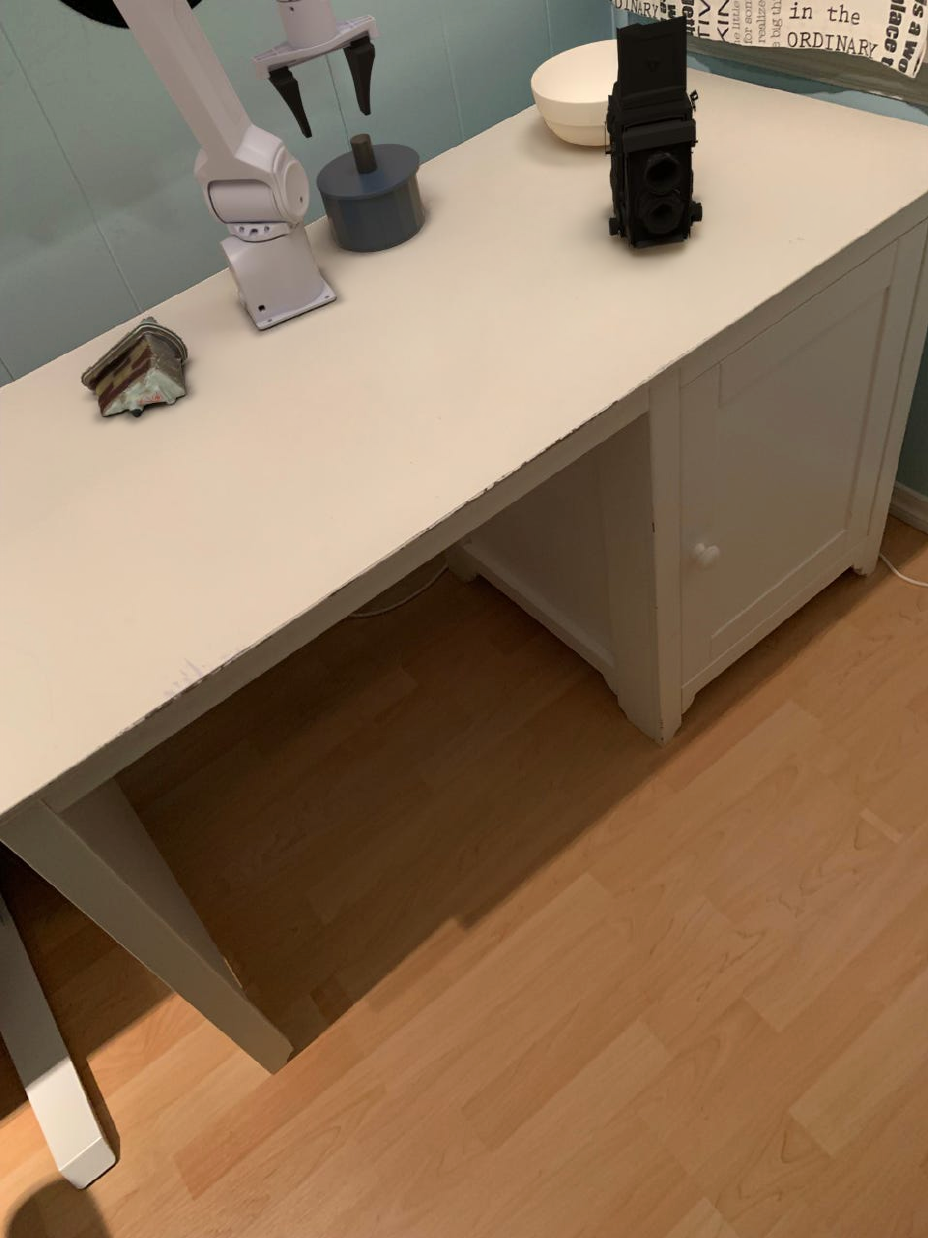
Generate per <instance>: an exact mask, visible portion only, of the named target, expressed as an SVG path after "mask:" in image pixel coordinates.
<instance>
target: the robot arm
mask: <svg viewBox="0 0 928 1238" xmlns="http://www.w3.org/2000/svg"><path fill="white" fill-rule="evenodd" d="M112 1H113V3H114V5H115V6H116V8H117V10H118V11H119V13H120V15H121V17H122V18H123V20H124V21H125V23H126V25H127V26H128V28H129V30H130V31H131V33H132V35H133V36H134V38H135V39H136V41H137V43H138V44H139V46H140V48H141V49H142V51H143V53H144V54H145V56H146V57H147V59H148V61H149V62H150V64H151V66H152V68H153V69H154V71H155V73H156V74H157V76H158V78H159V79H160V81H161V82H162V84H163V86H164V88H165V89H166V91H167V93H168V94H169V96H170V98H171V99H172V100H173V102H174V104H175V105H176V107H177V109H178V110H179V112H180V114H181V115H182V117H183V119H184V120H185V122H186V124H187V126H188V127H189V129H190V131H191V132H192V133H193V136H194V137H195V139H196V140H197V142H198V143H199V145H200V149H199V151H198V153H197V156H196V159H195V163H194V168H193V177H194V179H195V180H196V181H197V183H198V185H199V187H200V190H201V192H202V196H203V200H204V203H205V205H206V208H207V210H208V212H209V214H210V215H211V217H212V218H213V219H214V221H216V222H217V223H218V224H221V225H224V226H226V228H227V230H228V233H229V234H230V236H228V237H227V238H224V239H223V240H221V241H220V242H219V247H220V249H221V252H222V255H223V258H224V260H225V263H226V264H227V267H228V270H229V272H230V274H231V277H232V279H233V282H234V284H235V287H236V290H237V292H236V293H237V296H238V298H239V300H240V303H241V305H242V306H243V308H246V310H247V312H248V313H249V316H250V317H251V318H252V320H253V322H254V324H255V326H256V327H257V329H258V330H265V329H268V328H270V327H272V326H275V325H277V324H280V323H282V322H284V321H287V320H289V319H291V318H294V317H297V316H299V315H302V314H303V313H307V312H308V311H311V310H314V309H316V308H318V307H321V306H323V305H325V304H328V303H330V302H332V301H334V300H336V298H337V296H336V293H335V292H334V291H333V289H332V288H331V287H330V285H329V284H328V283H327V281H326V280H325V279H324V277H323V276H322V274H321V273H320V270H319V268H318V265H317V262H316V259H315V255H314V252H313V249H312V246H311V242H310V240H309V236H308V234H307V230H306V227H305V225H304V222H303V220H304V218H305V216H306V214H307V212H308V209H309V206H310V205H309V204H310V201H311V200H310V198H311V191H310V183H309V179H308V177H307V174H306V171H305V169H304V168H303V166H302V164H301V163H300V161H299V160H298V159H297V158H296V157H294V156H293V155H292V154H291V153H290V152H289V151H288V148H287V146H286V145H285V143H284V140H282V138H279V137H278V136H276V135H274V134H272V133H270V132H268V131H266V130H264V129H262V128H260V127H258V126H257V125H255V124H254V123H253V122H252V121H251V119H250V117H249V116H248V114H247V112H246V110H245V107H244V106H243V105H242V104H243V103H242V102H241V100H240V99H239V96H238V95H237V93H236V91H235V89H234V87H233V84H232V83H231V81H230V80H229V77H228V76H227V73H226V72H225V70H224V68H223V66H222V64H221V62H220V60H219V58H218V57H217V55H216V53H215V52H214V49H213V48H212V46H211V44H210V41H209V40H208V38H207V36H206V34H205V32H204V30H203V28H202V26H201V24H200V23H199V20H198V18H197V17H196V15H195V14H194V11H193V10H192V8H191V6H190V3H189V2H188V0H112ZM275 2H276V6H277V10H278V13H279V16H280V20H281V22H282V26H283V29H284V33H285V36H286V40H284V41H282V42H280V43H278V44H277V45H275V46H273V47H270V48H269V49H267V50H265V51H263V52H260V53H258V54H256V55H253V56H251V61H252V64H253V68H254V70H255V73H256V76H257V78H258V79H260V80H261V81H265V80H268V82H270V83H271V85H272V86H273V87H274V88H275V90H276V91H277V92H278V94H279V95H280V96H281V98H282V99H283V101H284V102H285V103H286V105H287V107H288V108H289V110H290V112H291V114H292V115H293V117H294V118H295V120H296V122H297V124H298V127H299V129H300V131H301V134H302V135H303V136H304V137H305V138H306V139H310V138H312V137H313V133H312V128H311V125H310V123H309V119H308V117H307V114H306V110H305V109H304V108H305V107H304V104H303V100H302V96H301V91H300V86H299V81H298V80H297V78H295V77H294V75H293V72H292V71H291V70H290V69H291V68H294V67H296V66H299V65H302V64H305V63H307V62H310V61H313V60H316V59H318V58H321V57H324V56H326V55H329V54H332V53H334V52H337V51H340V50H343V53H344V57H345V59H346V63H347V65H348V68H349V72H350V75H351V78H352V82H353V88H354V93H355V96H356V102H357V105H358V108H359V111H360V112H361V113H362V115H364V116H365V117H367V116H370V115H371V114H372V111H371V82H372V81H371V80H372V74H373V68H374V63H375V60H376V59H375V58H376V47H375V45H374V44H373V43H372V42H371V41H373V40H376V39H379V38H380V35H379V30H378V26H377V21H376V18H375V17H373V16H372V15H370V14H369V13H368V14H366V15H362V16H359V17H356V18H351V19H348V20H343V21H340V22H336V18H335V14H334V10H333V6H332V2H331V0H275Z"/></svg>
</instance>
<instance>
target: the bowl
mask: <svg viewBox="0 0 928 1238" xmlns="http://www.w3.org/2000/svg"><path fill="white" fill-rule="evenodd" d="M617 73H618V56H617V38H615V39H606V40H600V41H595V42H590V43H586V44H583V45H579V46H576V47H573V48H570V49H568V50H564V51H562V52H561V53H558V54H556V55H554V56H552V57H551V58H549V59H547V60H546V61H544V62H543V63H542V64H541V65H539V66H538V67H537V68H536V69H535V71H534V72H533V74H532V76H531V78H530V86H531V87H530V89H531V92H532V95H533V99H534V102H535V107H536V109H537V111H538V112H539V114H540V115H541V116H542V117H543V118H544V121H545V123H546V124H547V127H548V128H549V129H550V130H551V131H552V132H553V133H554V134H555V135H556V136H557V137H558V138H560V139H561V140H563V141H565V142H567V143H570V144H574V145H579V146H591V147H595V146H596V147H599V146H600V147H601V146H605V128H606V146H610V141H609V136H610V134H609V133H608V131H607V125H606V126H605V123H604V121H606V115H607V112H608V111H607V109H608V95H612V90H613V84H614V83H615V82H616V81H617Z"/></svg>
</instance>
